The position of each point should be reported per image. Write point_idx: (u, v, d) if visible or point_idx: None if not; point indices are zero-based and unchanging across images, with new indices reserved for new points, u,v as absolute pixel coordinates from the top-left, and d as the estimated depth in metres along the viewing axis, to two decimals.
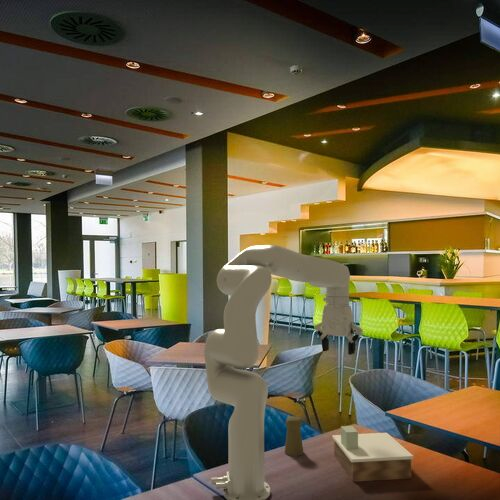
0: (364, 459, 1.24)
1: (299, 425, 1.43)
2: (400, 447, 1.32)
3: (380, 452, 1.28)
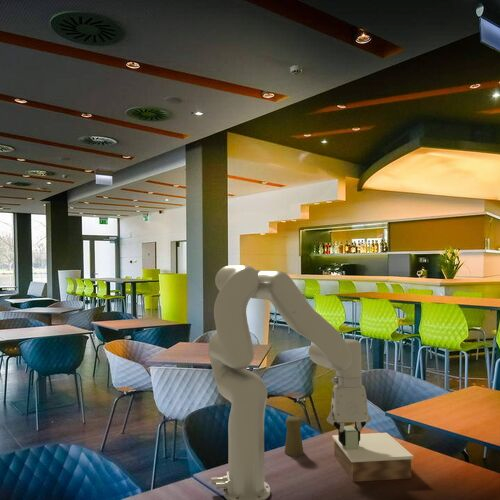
0: (364, 459, 1.24)
1: (299, 425, 1.43)
2: (400, 447, 1.32)
3: (380, 452, 1.28)
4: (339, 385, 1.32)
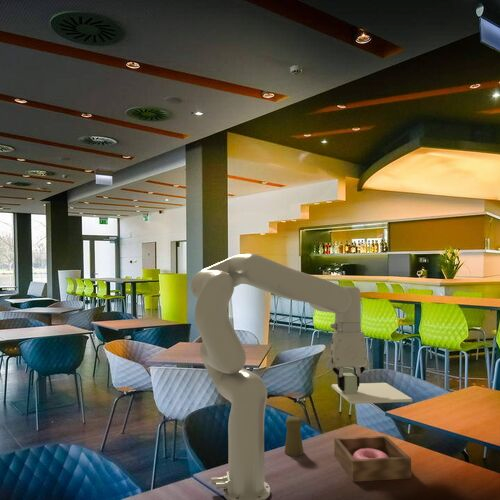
0: (363, 401, 1.25)
1: (299, 425, 1.43)
2: (399, 392, 1.32)
3: (379, 396, 1.29)
4: (338, 330, 1.32)
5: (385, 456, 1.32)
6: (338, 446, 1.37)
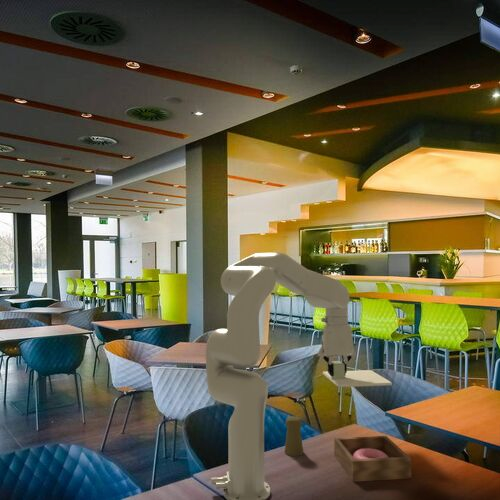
0: (349, 384, 1.44)
1: (299, 425, 1.43)
2: (381, 378, 1.52)
3: (363, 380, 1.48)
4: (328, 323, 1.51)
5: (385, 456, 1.32)
6: (338, 446, 1.37)
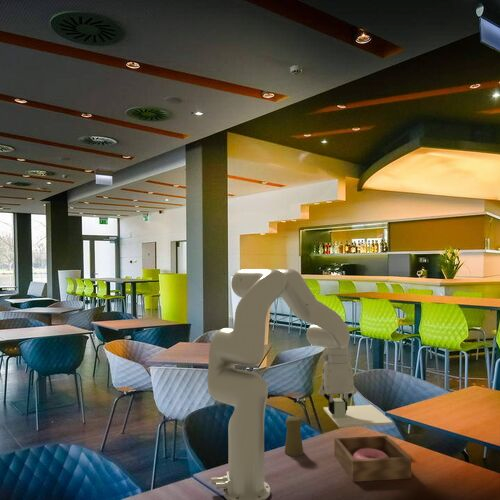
0: (350, 425, 1.44)
1: (299, 425, 1.43)
2: (382, 415, 1.51)
3: (364, 419, 1.48)
4: (328, 361, 1.51)
5: (385, 456, 1.32)
6: (338, 446, 1.37)
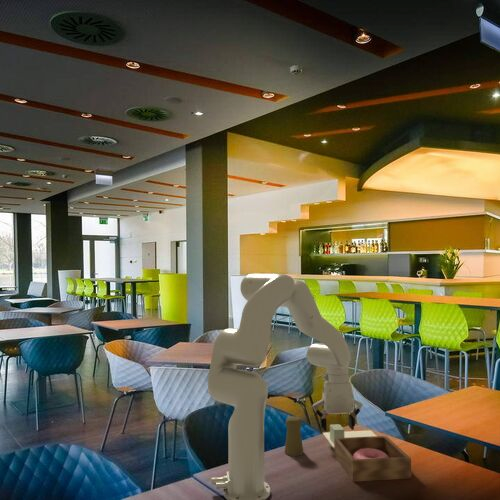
0: None
1: (299, 425, 1.43)
2: None
3: None
4: (329, 381, 1.51)
5: (385, 456, 1.32)
6: (338, 446, 1.37)
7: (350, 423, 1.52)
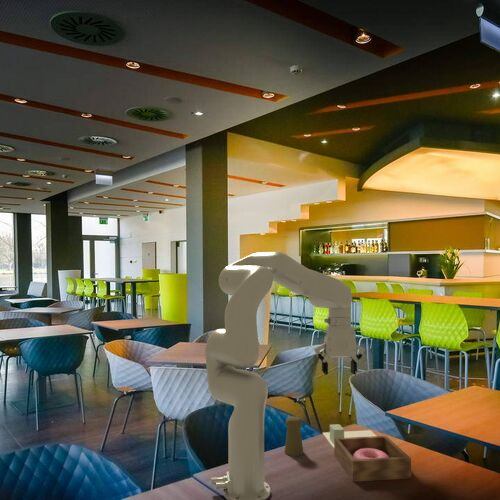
0: None
1: (299, 425, 1.43)
2: None
3: None
4: (331, 324, 1.49)
5: (385, 456, 1.32)
6: (338, 446, 1.37)
7: (352, 368, 1.50)
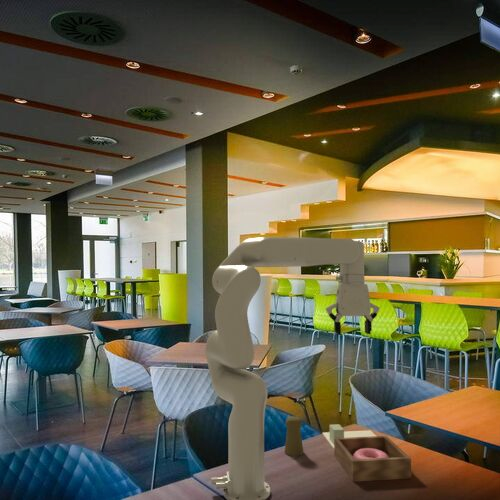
0: None
1: (299, 425, 1.43)
2: None
3: None
4: (343, 282, 1.40)
5: (385, 456, 1.32)
6: (338, 446, 1.37)
7: (366, 328, 1.42)
